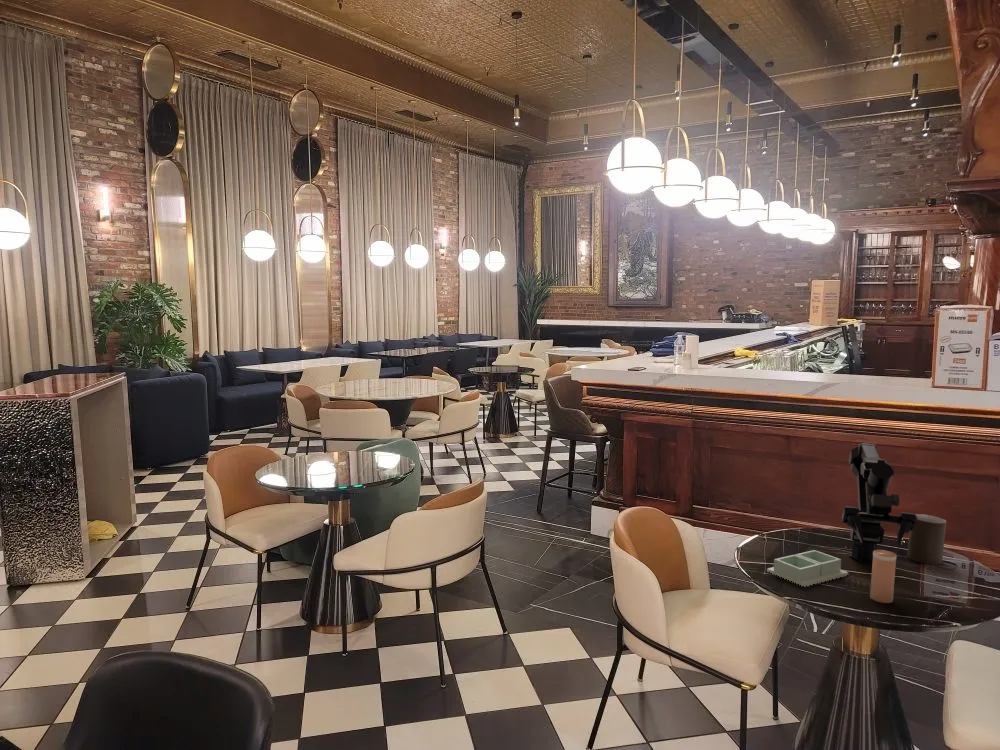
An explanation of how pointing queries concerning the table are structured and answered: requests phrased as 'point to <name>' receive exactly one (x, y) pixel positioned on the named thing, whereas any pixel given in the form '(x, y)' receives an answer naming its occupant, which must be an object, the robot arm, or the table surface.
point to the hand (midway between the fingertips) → (880, 544)
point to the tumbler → (883, 576)
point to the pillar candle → (927, 540)
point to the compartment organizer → (808, 568)
